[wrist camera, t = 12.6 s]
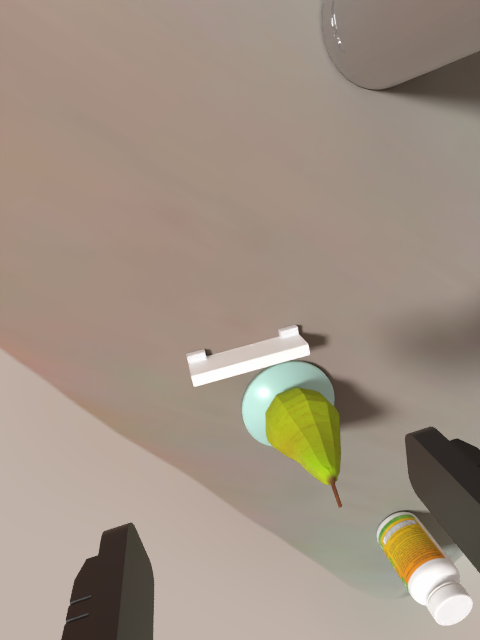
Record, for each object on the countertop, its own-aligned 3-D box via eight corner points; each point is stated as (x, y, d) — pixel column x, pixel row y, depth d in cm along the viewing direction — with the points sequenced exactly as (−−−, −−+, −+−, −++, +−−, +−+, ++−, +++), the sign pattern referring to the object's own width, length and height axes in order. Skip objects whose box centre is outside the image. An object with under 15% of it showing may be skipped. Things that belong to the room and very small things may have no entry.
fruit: (322, 370, 37) (393, 448, 26) (323, 426, 39) (389, 522, 28) (255, 381, 36) (299, 469, 25) (260, 439, 38) (303, 544, 27)
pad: (326, 349, 37) (328, 351, 37) (337, 429, 40) (339, 432, 40) (232, 375, 36) (234, 378, 36) (251, 454, 39) (252, 458, 39)
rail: (295, 324, 36) (307, 336, 33) (299, 348, 37) (311, 362, 34) (186, 353, 35) (188, 368, 32) (192, 377, 36) (196, 394, 33)
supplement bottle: (366, 537, 46) (417, 623, 37) (396, 503, 45) (456, 582, 36) (396, 552, 48) (452, 637, 39) (426, 520, 47) (490, 599, 38)
